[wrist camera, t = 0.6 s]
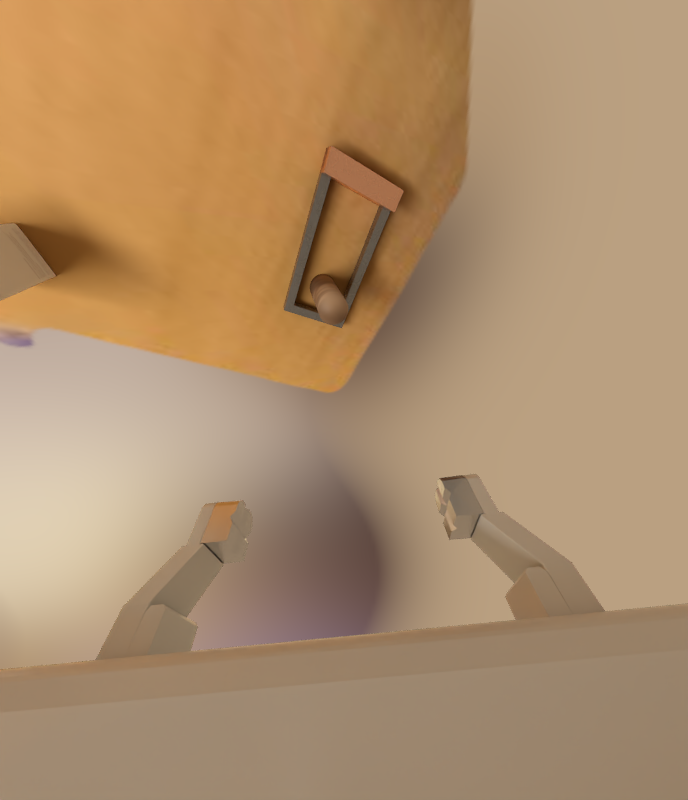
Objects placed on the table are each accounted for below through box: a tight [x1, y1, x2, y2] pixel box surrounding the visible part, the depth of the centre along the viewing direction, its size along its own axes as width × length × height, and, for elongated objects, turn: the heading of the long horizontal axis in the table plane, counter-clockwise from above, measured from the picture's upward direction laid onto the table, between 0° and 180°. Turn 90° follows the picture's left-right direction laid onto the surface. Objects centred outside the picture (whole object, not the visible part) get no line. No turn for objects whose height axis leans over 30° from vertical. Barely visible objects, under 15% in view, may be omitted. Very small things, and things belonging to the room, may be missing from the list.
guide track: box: [284, 146, 404, 328], centre depth 46 cm, size 25×12×4 cm, turn 157°
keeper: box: [310, 274, 348, 325], centre depth 47 cm, size 5×5×12 cm
